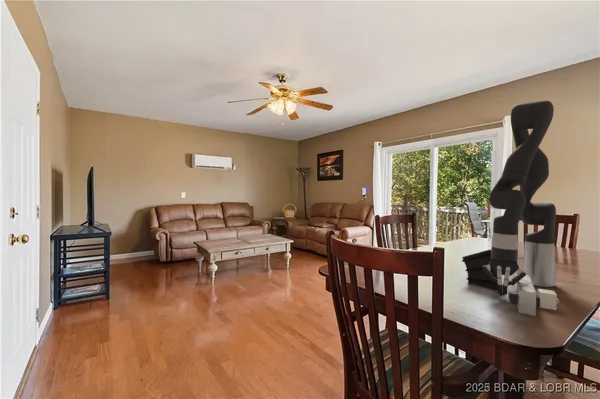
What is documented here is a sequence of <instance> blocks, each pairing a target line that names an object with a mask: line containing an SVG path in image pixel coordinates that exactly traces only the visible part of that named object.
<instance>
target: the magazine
mask: <svg viewBox="0 0 600 399" xmlns="http://www.w3.org/2000/svg"><path fill="white" fill-rule="evenodd" d="M490 260H491V248H490V249H487V250H483V251H480V252H476V253H472V254H469V255H464V256H462V259H461V262H462V263H464V265H465V268H466V269H465V272H466V273H467V277H466V281H467V284H468V285H473V286H478V287H481V288H485V289H489V290H491V291H496V292H497V287H498V285H497V283H495V282H492V280H491V279H490V278H489V277H488V275H487V274H486V273H485V272H484V270H483V269H482V267H483V266H484V265H487V264H489V261H490ZM490 269H491V270H490V272H491V273H492V274H493V275H494V277H495V278H496V279H498V278H497V274H496V273H495V272H494V271H493V269H492V268H491V267H490Z"/></svg>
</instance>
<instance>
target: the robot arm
mask: <svg viewBox="0 0 600 399" xmlns="http://www.w3.org/2000/svg"><path fill="white" fill-rule="evenodd" d="M554 109H555V108H554V105H553V103H552V102H551V101H550V100H540V101H531V102H524V103H523V102H522V103H519V104H518V103H517V104H515V105H514V106H513V107H512V108H511V112H510V125H511V127H510V128H511V131H512V134H513V135H512V136H513V140H514V146H515V149H514V151H512V152H511V153H510V155H509V156H508V158H507V159H506V161H505V164H504V167H503V170H502V173H501V176H500V178H499V179H498V181H497V182H496V183H495V185H494V187H493V188H492V190H491V191H490V194H489V204H490V206H491V207H492V208H493V209H494V210H495V209H497V210H505V211H504V213H503V215H501V216H500V215H499V216H496V217H494V219H493V224H492V225H493V226H492V227H493V228H492V229H493V230H492V236H491V244H490V245H491V248H490V249H491V260H490V261H489V264H487V265H484V266H483V267H482V269H483V270H484V272H485V273H486V274H487V275H488V277H489V278H490V279H491V280H492V282H495V283H497V285H498V287H497V291H496V292H497V294H499V296H501V297H505V296H507V295H508V287H509V286H515V284H516V283H517V282H518V281H520V280H521V279H522V278H523V277H525V276H526V275H529V276H530V278H531V281H532V284H533V286H536V287H541V288H542V287H544V288H551V287H554V286H557V261H555V228H556V218H557V208H556V206H555V204H554V203H552V202H551V203H550V202H532V201H531V200H532V199H533V197H534V195H535V194H536V192H537V191H538V190H539V189H540V188H541V187H542V186H543V184H545V182H546V181H547V180H548V178H549V176H550V166H549V165H550V164H549V158H548V156H547V155H546V154H545V152H544V151H543V150H542V149H541V148H540V145H541V143H542V141H543V139H544V138H545V135H546V133H547V131H548V130H549V127H550V125H551V123H552V121H553V117H554V113H555V112H554V111H555V110H554ZM529 130H531V132H530V133H529ZM517 186H519V189H514V188H515V187H517ZM520 220H521V222H522V223H523V224H524V225H528V226H544V227H543V229H541V230H538V231H535V232H528V233H526V234H525V236H524V262H523V263H524V265H523V266H524V268H523V269H524V270H522V269H520V266H519V264H518V261H519V260H518V258H519V256H518V254H519V223H520ZM490 267H491V268H492V269H493V271H494V272H495V273H496V274H497V278H498V279H496V278H495V277H494V275H493V274H492V273H491V272H490V270H491V269H490ZM514 274H517V276H516V275H515V276H514V277H513V278H512V279H510V277H511V276H513V275H514ZM503 276H504V277H503ZM502 277H503V278H502Z"/></svg>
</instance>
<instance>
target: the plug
mask: <svg viewBox="0 0 600 399" xmlns="http://www.w3.org/2000/svg"><path fill="white" fill-rule="evenodd" d="M507 295H508V297H507V300H508V302H510V303H513V304H514V303H515V304H517V301H518V292H515V290H514V291H513V290H508V292H507ZM557 296H558V294H557V293H556V291H554V290H550V289H542V288H537V294H536V308H537V307H538V308H541V309H546V310H554V311H557V305H559V304H560V299H559V298H558V297H557Z"/></svg>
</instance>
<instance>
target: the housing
mask: <svg viewBox="0 0 600 399" xmlns="http://www.w3.org/2000/svg"><path fill="white" fill-rule="evenodd" d="M515 276H517V273H515ZM534 286H535V285H533V284H532V281H531V278H530V276H529V275H526V276H525V277H523V278H522V279H521V280H520V281H518V282H517V283H516V284H515V285H514V287H515V290H514V291H515V292H518V301H517V303H516V304H517V309H518V313H519V314H524V315H529V316H533V317H536V316H537V315H536V314H537V311H536V310H537V306H536V295H537V292H536V289H535V287H534Z"/></svg>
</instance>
